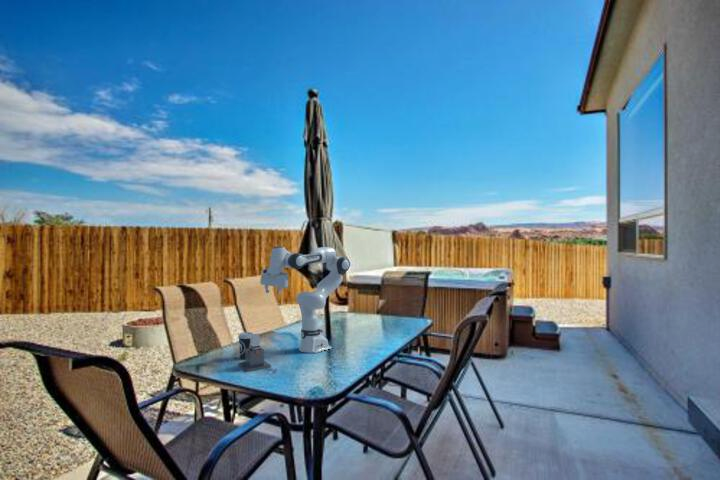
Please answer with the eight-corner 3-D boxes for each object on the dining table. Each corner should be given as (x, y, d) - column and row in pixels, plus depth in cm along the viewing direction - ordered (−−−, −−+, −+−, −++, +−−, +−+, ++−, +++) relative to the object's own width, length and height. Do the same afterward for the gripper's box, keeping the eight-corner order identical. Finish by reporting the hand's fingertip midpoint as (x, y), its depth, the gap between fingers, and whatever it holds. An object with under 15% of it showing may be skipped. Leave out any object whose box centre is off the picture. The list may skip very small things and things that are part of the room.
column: (256, 361, 211) (257, 333, 212) (259, 363, 208) (260, 335, 208) (249, 363, 209) (250, 334, 209) (252, 365, 205) (253, 336, 206)
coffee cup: (248, 360, 219) (249, 335, 219) (234, 359, 221) (235, 334, 221) (256, 356, 228) (257, 332, 229) (242, 355, 230) (243, 331, 230)
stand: (260, 361, 218) (261, 344, 218) (270, 367, 207) (271, 349, 207) (237, 365, 209) (238, 348, 210) (246, 372, 198) (247, 353, 199)
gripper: (291, 273, 227) (289, 295, 226) (266, 270, 237) (264, 291, 235) (285, 272, 222) (282, 295, 220) (260, 269, 231) (257, 291, 230)
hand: (272, 293), depth 228 cm, fingers open, 8 cm apart
